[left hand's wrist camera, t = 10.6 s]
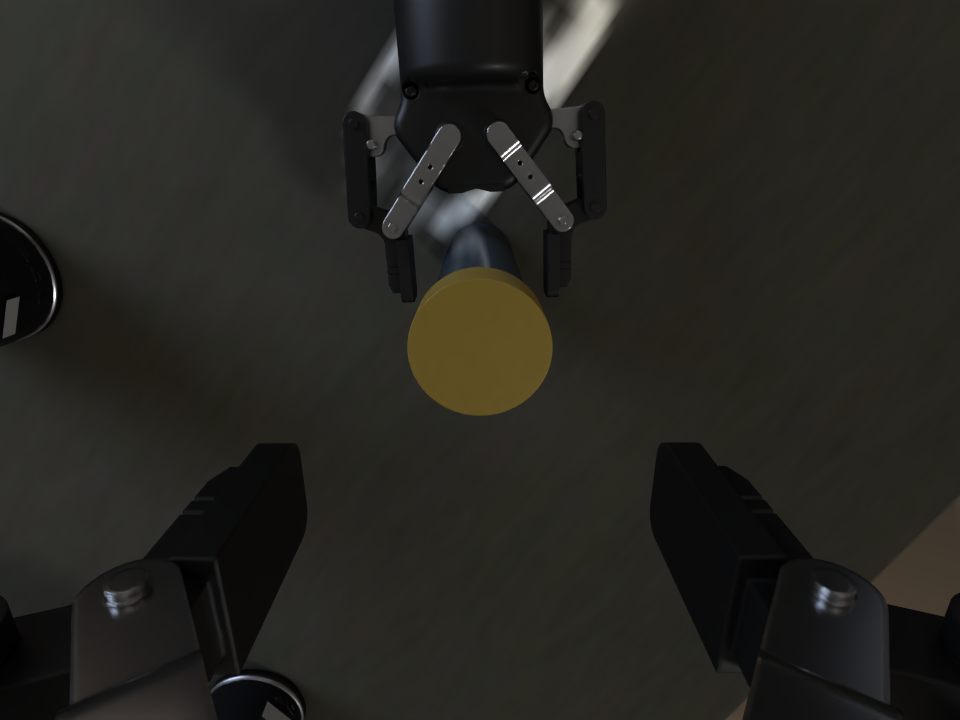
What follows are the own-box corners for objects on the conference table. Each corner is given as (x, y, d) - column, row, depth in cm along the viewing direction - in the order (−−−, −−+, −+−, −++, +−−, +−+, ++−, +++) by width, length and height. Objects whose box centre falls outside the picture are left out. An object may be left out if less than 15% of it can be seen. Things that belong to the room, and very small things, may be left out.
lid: (480, 415, 23) (481, 441, 21) (387, 333, 21) (377, 351, 19) (572, 330, 21) (582, 349, 19) (478, 237, 20) (478, 246, 18)
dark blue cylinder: (480, 299, 40) (481, 424, 21) (435, 255, 38) (393, 347, 20) (524, 254, 38) (567, 345, 20) (479, 208, 37) (478, 259, 19)
